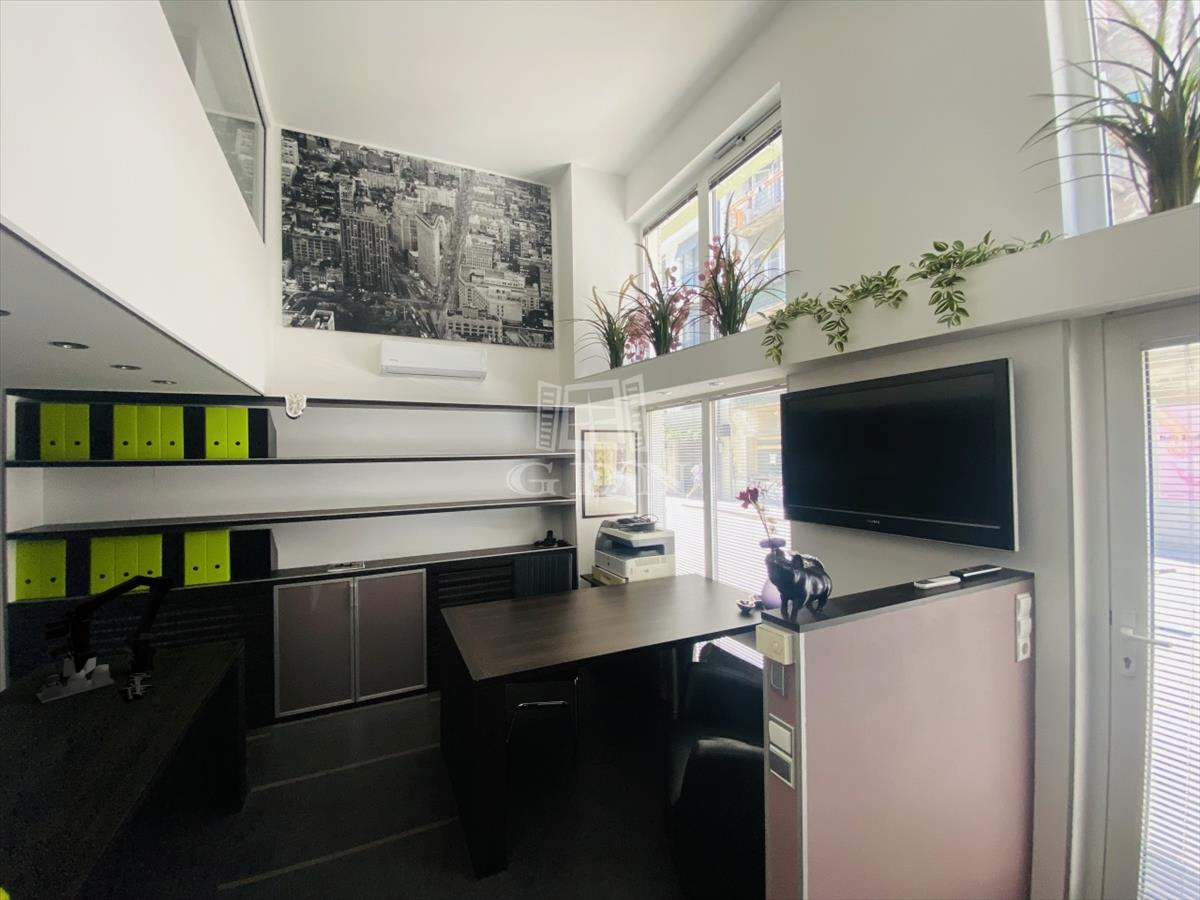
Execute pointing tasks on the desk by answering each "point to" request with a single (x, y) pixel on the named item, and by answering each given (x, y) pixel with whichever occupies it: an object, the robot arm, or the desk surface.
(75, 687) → the mount strip
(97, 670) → the knob
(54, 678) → the pot knob
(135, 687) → the nameplate
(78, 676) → the knob
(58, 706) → the desk surface
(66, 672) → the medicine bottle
